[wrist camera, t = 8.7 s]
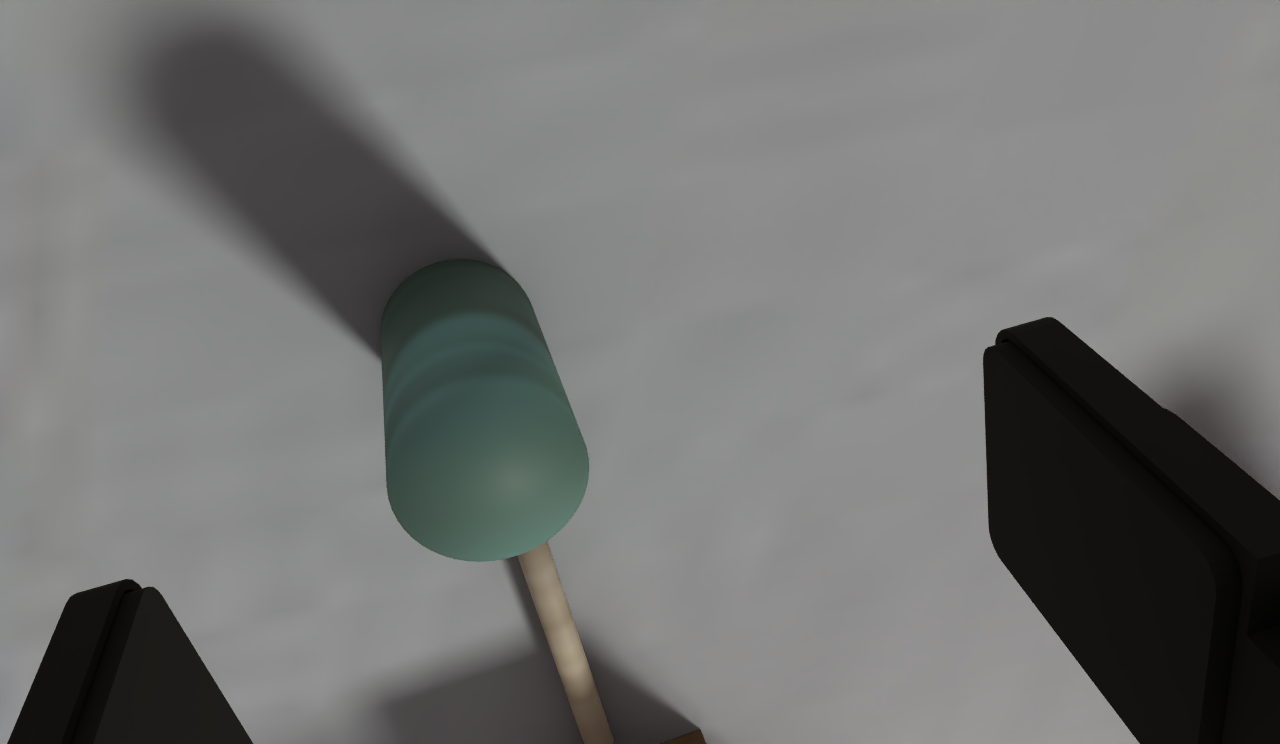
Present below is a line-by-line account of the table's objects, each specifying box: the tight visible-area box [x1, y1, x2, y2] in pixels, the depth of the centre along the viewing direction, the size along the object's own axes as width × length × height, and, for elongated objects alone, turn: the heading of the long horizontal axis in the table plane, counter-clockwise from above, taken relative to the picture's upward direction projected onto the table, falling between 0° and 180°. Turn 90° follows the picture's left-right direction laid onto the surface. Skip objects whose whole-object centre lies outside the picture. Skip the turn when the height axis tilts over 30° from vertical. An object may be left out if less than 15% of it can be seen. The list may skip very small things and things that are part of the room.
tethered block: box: [381, 260, 706, 744], centre depth 22 cm, size 19×5×6 cm, turn 13°
